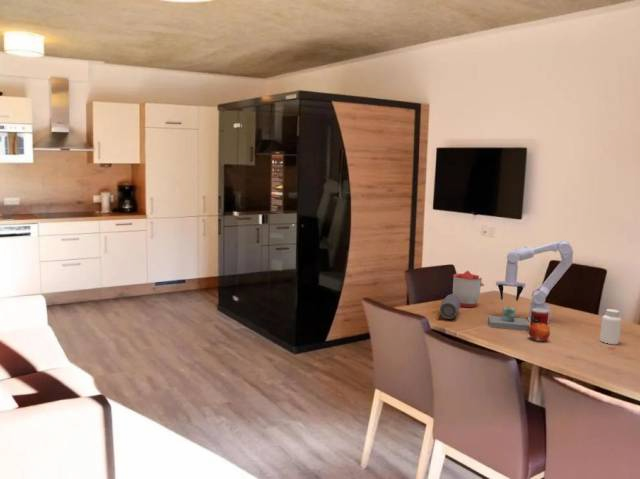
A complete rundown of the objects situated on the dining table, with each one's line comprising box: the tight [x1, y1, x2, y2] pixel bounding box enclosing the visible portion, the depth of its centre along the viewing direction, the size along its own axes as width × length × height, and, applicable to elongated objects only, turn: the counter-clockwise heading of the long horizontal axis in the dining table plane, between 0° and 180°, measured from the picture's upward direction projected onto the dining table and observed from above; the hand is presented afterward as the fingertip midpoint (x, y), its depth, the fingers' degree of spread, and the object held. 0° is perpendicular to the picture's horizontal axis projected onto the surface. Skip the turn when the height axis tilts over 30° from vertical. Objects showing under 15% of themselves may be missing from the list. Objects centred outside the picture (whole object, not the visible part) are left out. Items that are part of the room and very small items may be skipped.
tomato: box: [528, 323, 551, 342], centre depth 257 cm, size 9×9×8 cm
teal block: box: [501, 306, 516, 322], centre depth 280 cm, size 5×5×6 cm
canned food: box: [529, 308, 549, 327], centre depth 269 cm, size 8×8×11 cm
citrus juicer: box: [452, 270, 485, 308], centre depth 319 cm, size 16×17×20 cm
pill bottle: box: [599, 308, 623, 345], centre depth 257 cm, size 8×8×15 cm
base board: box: [487, 315, 530, 332], centre depth 280 cm, size 18×13×2 cm
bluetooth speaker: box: [439, 293, 461, 320], centre depth 294 cm, size 23×9×10 cm, turn 161°
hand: (509, 299), depth 295 cm, fingers open, 7 cm apart
